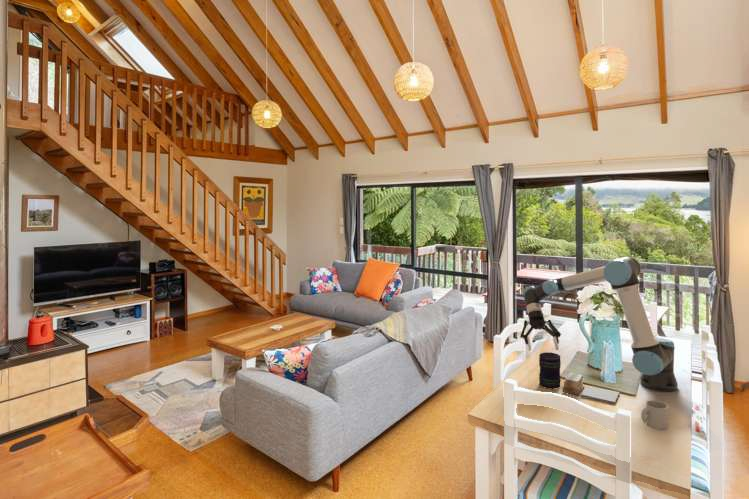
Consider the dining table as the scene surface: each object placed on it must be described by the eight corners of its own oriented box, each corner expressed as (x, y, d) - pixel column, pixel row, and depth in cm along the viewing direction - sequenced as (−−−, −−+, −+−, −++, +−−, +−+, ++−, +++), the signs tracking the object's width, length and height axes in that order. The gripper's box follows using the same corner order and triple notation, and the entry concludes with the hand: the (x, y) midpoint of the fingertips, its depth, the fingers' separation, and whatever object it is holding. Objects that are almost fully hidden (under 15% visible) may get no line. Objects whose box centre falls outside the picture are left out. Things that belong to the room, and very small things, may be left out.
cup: (672, 429, 167) (672, 408, 167) (647, 431, 167) (648, 409, 166) (658, 420, 175) (659, 399, 174) (635, 422, 174) (635, 401, 173)
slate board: (619, 394, 199) (619, 392, 199) (614, 404, 190) (614, 401, 190) (586, 387, 208) (586, 385, 208) (580, 396, 198) (580, 394, 198)
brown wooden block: (584, 387, 208) (584, 374, 207) (578, 396, 199) (578, 382, 198) (568, 384, 212) (568, 371, 212) (562, 392, 203) (562, 379, 203)
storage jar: (535, 385, 213) (535, 356, 211) (544, 379, 220) (544, 351, 218) (555, 390, 206) (555, 360, 204) (563, 384, 212) (564, 355, 211)
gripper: (557, 316, 233) (567, 352, 220) (510, 317, 235) (517, 352, 222) (560, 309, 227) (570, 345, 214) (512, 310, 229) (520, 346, 216)
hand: (543, 349), depth 218 cm, fingers open, 13 cm apart
